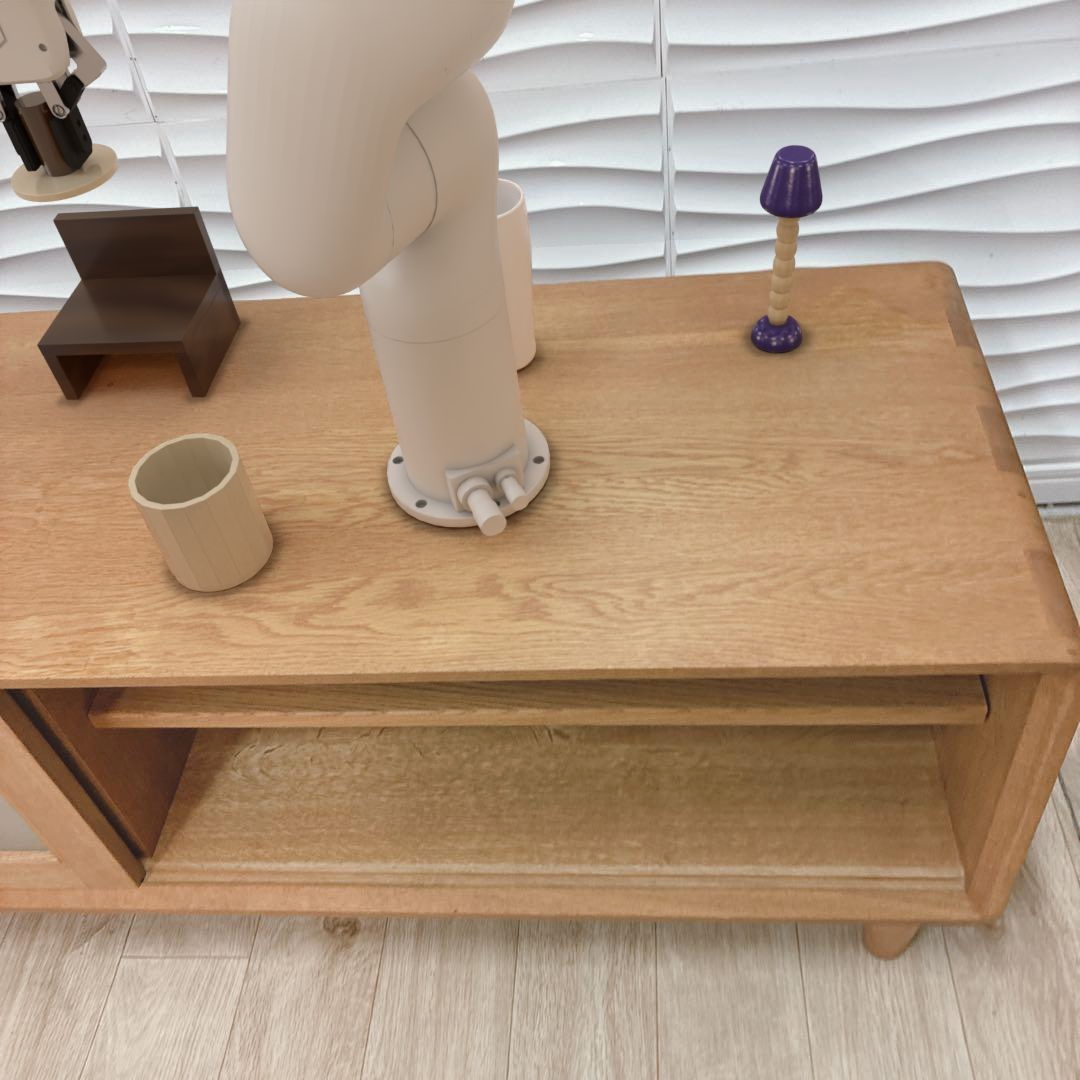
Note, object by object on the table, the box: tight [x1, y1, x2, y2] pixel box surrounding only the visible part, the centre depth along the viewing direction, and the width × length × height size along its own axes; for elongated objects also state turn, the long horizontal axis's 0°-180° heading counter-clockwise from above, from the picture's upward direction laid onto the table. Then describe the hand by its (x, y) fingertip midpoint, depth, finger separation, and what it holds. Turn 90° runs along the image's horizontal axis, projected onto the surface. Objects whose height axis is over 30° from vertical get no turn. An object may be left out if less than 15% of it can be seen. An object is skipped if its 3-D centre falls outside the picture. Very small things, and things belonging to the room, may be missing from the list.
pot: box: [127, 432, 274, 593], centre depth 77 cm, size 8×8×8 cm
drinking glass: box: [497, 177, 537, 371], centre depth 88 cm, size 7×7×15 cm
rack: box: [36, 206, 241, 401], centre depth 94 cm, size 11×13×12 cm
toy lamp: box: [750, 144, 823, 353], centre depth 85 cm, size 5×5×17 cm
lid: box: [10, 90, 120, 203], centre depth 83 cm, size 8×8×7 cm
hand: (60, 159), depth 84 cm, fingers closed on lid, 2 cm apart
